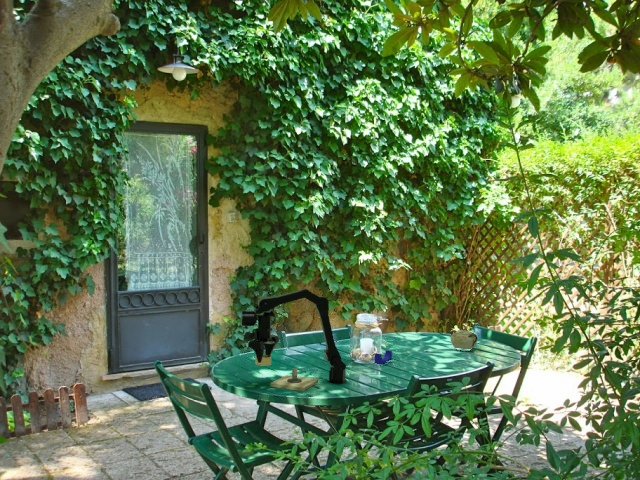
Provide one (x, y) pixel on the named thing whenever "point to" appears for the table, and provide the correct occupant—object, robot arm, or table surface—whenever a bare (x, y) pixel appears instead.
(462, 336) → the sugar bowl
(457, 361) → the table surface
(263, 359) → the ring
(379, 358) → the cable clip
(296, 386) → the stand
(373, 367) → the table surface
